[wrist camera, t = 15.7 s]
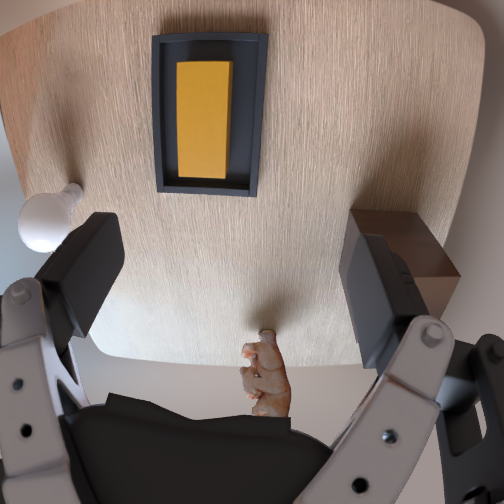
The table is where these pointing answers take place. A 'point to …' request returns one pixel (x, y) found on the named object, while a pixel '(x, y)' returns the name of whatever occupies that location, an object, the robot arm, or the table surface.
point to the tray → (242, 108)
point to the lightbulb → (48, 218)
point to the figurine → (266, 377)
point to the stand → (405, 254)
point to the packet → (204, 118)
